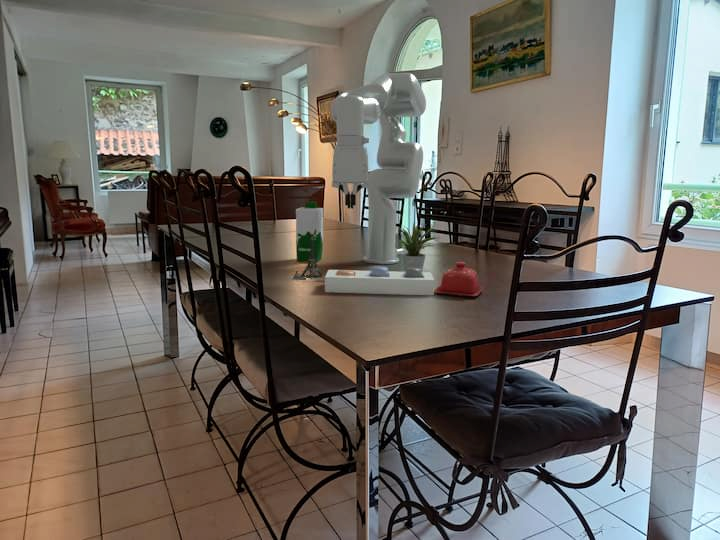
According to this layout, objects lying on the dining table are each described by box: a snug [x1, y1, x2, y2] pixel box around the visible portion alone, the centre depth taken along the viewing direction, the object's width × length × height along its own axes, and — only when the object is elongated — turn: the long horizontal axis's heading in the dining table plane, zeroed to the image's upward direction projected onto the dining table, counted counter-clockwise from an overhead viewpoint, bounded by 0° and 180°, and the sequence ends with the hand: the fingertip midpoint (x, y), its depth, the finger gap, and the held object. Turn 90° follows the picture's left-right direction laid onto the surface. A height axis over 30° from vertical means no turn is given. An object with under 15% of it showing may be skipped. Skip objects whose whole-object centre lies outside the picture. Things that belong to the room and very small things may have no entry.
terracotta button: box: [337, 269, 354, 276], centre depth 138 cm, size 4×4×3 cm
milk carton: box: [295, 201, 324, 263], centre depth 178 cm, size 9×9×20 cm
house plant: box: [394, 222, 441, 272], centre depth 156 cm, size 14×14×16 cm
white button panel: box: [324, 269, 436, 296], centre depth 138 cm, size 28×10×4 cm, turn 88°
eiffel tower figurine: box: [292, 236, 326, 282], centre depth 153 cm, size 15×10×13 cm
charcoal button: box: [405, 267, 423, 278], centre depth 137 cm, size 4×4×3 cm
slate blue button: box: [370, 265, 389, 277], centre depth 138 cm, size 4×4×3 cm
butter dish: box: [434, 261, 484, 298], centre depth 136 cm, size 12×12×8 cm
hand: (350, 207), depth 149 cm, fingers closed
